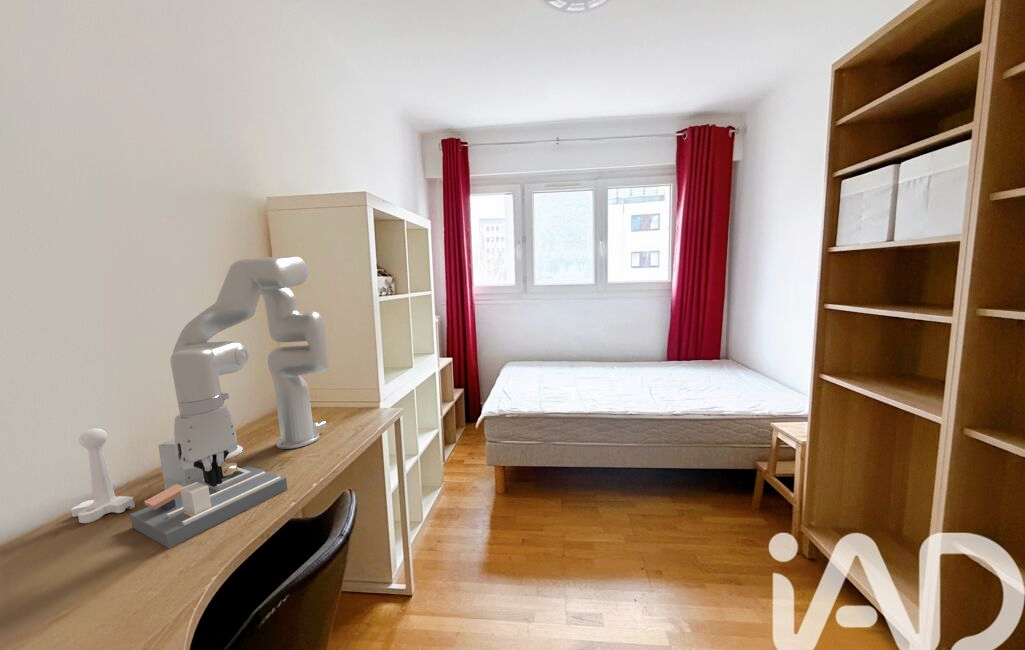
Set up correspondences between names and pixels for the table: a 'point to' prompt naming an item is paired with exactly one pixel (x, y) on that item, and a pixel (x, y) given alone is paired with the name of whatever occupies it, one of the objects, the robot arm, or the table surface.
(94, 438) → the joystick
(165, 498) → the rocker switch
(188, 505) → the white slider block
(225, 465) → the push button
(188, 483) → the supplement box
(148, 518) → the control panel
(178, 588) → the table surface
